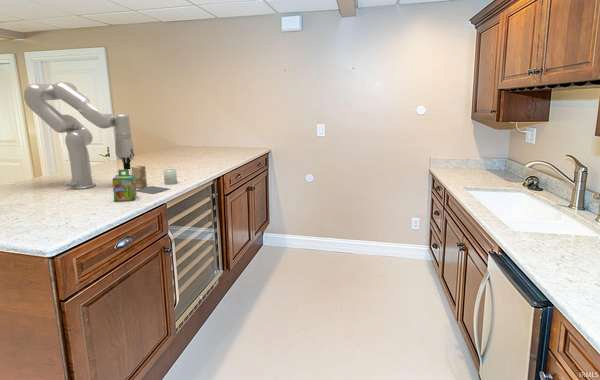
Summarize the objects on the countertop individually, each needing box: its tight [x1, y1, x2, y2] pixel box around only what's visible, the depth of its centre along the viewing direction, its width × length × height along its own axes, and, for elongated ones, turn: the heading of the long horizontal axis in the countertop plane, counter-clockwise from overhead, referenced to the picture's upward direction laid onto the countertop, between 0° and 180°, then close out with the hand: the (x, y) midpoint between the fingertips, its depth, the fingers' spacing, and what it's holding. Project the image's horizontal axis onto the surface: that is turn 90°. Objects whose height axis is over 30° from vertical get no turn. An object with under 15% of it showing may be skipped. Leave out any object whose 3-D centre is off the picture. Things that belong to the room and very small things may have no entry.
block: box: [130, 165, 148, 190], centre depth 208 cm, size 5×5×12 cm
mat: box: [136, 185, 171, 195], centre depth 204 cm, size 12×14×1 cm
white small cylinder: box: [163, 168, 178, 186], centre depth 219 cm, size 7×7×8 cm
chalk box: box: [111, 168, 137, 202], centre depth 184 cm, size 9×9×15 cm
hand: (127, 169), depth 211 cm, fingers closed
